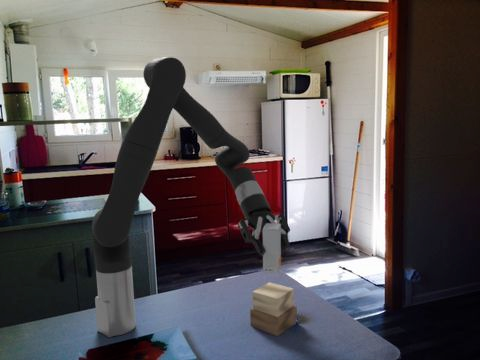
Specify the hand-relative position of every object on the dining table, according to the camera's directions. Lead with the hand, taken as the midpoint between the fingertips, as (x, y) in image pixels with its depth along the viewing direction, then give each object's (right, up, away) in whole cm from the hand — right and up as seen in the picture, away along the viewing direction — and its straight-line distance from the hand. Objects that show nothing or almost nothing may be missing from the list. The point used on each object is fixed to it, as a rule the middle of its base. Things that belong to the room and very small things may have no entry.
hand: (275, 251), depth 108 cm
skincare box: (-1, -5, +2) cm, 6 cm away
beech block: (0, -16, +4) cm, 16 cm away
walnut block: (0, -21, +5) cm, 21 cm away
